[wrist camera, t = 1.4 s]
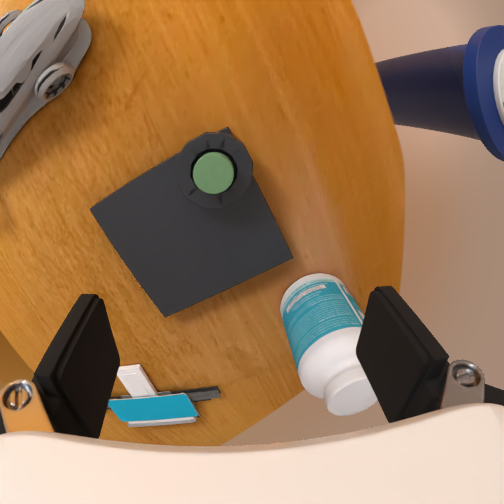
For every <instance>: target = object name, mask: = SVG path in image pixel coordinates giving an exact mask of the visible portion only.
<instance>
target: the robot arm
mask: <svg viewBox="0 0 504 504" xmlns="http://www.w3.org/2000/svg"><path fill="white" fill-rule="evenodd" d="M493 89H494V96H495V101H496V106H497V110H498V113H499V116H500V119H501V121H502V123H503V125H504V49H503V50H501V52H500V53H499V54H498V56H497V59H496V61H495V65H494V72H493ZM356 356H357V358H358V360H359V362H360V364H361V366H362V368H363V370H364V372H365V375H366V377H367V379H368V381H369V383H370V385H371V387H372V389H373V391H374V393H375V395H376V397H377V399H378V401H379V403H380V405H381V407H382V410H383V412H384V414H385V416H386V418H387V420H388V422H389V423H388V424H384V425H380V426H376V427H371V428H367V429H363V430H358V431H353V432H348V433H343V434H337V435H331V436H326V437H319V438H312V439H305V440H298V441H289V442H280V443H269V444H256V445H239V446H169V445H152V444H140V443H130V442H120V441H111V440H103V439H98V438H99V436H100V432H101V428H102V425H103V421H104V417H105V413H106V410H107V406H108V403H109V399H110V396H111V392H112V389H113V385H114V382H115V379H116V375H117V372H118V369H119V366H120V357H119V353H118V350H117V347H116V344H115V340H114V337H113V334H112V330H111V327H110V323H109V319H108V316H107V312H106V308H105V304H104V301H103V299H100V298H99V297H98V295H97V294H81V295H80V297H79V298H78V300H77V301H76V303H75V304H74V306H73V307H72V309H71V311H70V312H69V314H68V315H67V317H66V319H65V320H64V322H63V324H62V325H61V327H60V329H59V330H58V332H57V334H56V335H55V337H54V339H53V340H52V342H51V344H50V346H49V347H48V349H47V351H46V353H45V354H44V356H43V358H42V360H41V362H40V364H39V365H38V367H37V369H36V371H35V373H34V377H33V379H32V381H30V380H27V379H17V380H13V381H11V382H10V383H8V384H7V385H6V386H5V387H4V388H3V389H2V391H1V392H0V504H504V390H501V389H498V388H495V387H493V386H489V385H487V384H485V378H484V374H483V372H482V370H481V369H480V368H479V367H478V366H477V365H475V364H474V363H472V362H470V361H466V360H456V361H453V362H452V363H451V364H449V362H448V361H447V359H448V358H449V355H448V354H447V353H446V352H445V350H444V349H443V348H442V346H441V345H440V344H439V343H438V341H437V340H436V339H435V337H433V335H432V334H431V332H430V331H429V330H428V329H427V328H426V326H425V325H424V324H423V323H422V322H421V320H420V319H419V318H418V316H417V315H416V314H415V313H414V312H413V311H412V309H411V308H410V307H409V306H408V305H407V303H406V302H405V301H404V300H403V299H402V297H401V296H400V295H399V294H398V293H397V292H396V290H395V289H394V288H393V287H392V286H381V287H376V288H375V289H374V291H372V292H371V293H370V296H369V300H368V304H367V308H366V312H365V316H364V320H363V324H362V328H361V331H360V335H359V339H358V342H357V346H356Z"/></svg>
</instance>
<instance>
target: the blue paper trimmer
mask: <svg viewBox="0 0 504 504" xmlns="http://www.w3.org/2000/svg"><path fill="white" fill-rule="evenodd" d="M117 376H118V377H119V379H120V380H121V382H122V383H123V385H124V386H125V387H126V389H127V390H128V392H129V393H130V395H122V396H121V397H110V399H109V403H108V406H107V409H112V410H113V412H114V413H115V414H116V415H117V416H118V418H119V419H120V420H121V421H123V422H128V427H138V426H157V425H171V424H182V423H192V422H196V416H197V417H200V416H201V415H200V414H199V412H198V410H197V408H196V407H195V406H196V405H195V403H194V402H198V401H206V400H211V398H218V397H221V396H220V391H219V388H218V386H215V387H209V388H199V389H191V390H184V391H176V392H170V391H166V392H157V391H156V390H155V388H154V386H153V385H152V383H151V382H150V380H149V378H148V377H147V375H146V373H145V372H144V370H143V368H142V367H141V365H140V364H137V365H129V366H121V367H119V369H118V372H117ZM213 390H214V391H213ZM213 394H215V395H213Z"/></svg>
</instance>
